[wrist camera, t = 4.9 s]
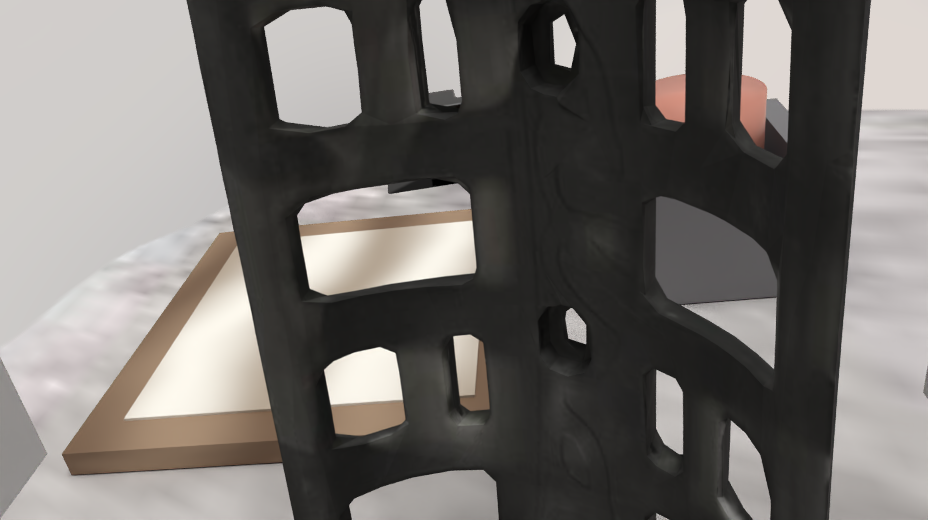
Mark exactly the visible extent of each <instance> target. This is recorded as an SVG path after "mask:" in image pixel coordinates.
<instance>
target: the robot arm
mask: <svg viewBox="0 0 928 520" xmlns="http://www.w3.org/2000/svg"><path fill="white" fill-rule="evenodd" d="M923 393H924V394H925V395H926V397H927V398H928V368H927V374H926V379H925V385H924V391H923ZM46 455H47V452H46V450H45V448H44V446H43V444H42V442H41V440H40V438H39V436H38V434H37V432H36V430H35V428H34V426H33V424H32V421H31V419H30V417H29V415H28V413H27V411H26V409H25V407H24V405H23V403H22V401H21V399H20V397H19V395H18V393H17V391H16V389H15V387H14V385H13V383H12V381H11V379H10V377H9V374H8V372H7V370H6V368H5V366H4V364H3V362H2V360H1V358H0V518H1V517H2V516H3V514H4V513H5V511H6V510H7V509H8V507H9V506H10V505H11V503H12V502H13V500H14V499H15V498H16V496H17V495H18V494H19V492H20V491H21V489H22V488H23V487H24V485H25V484H26V483H27V481H28V480H29V478H30V477H31V476H32V474H33V473H34V472H35V470H36V469H37V467H38V466H39V465H40V463H41V462H42V461H43V459H44V458H45V456H46Z"/></svg>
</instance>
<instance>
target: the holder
mask: <svg viewBox="0 0 928 520" xmlns="http://www.w3.org/2000/svg"><path fill="white" fill-rule="evenodd" d="M421 1H422V0H187V4H188V9H189V14H190V19H191V24H192V28H193V33H194V39H195V44H196V49H197V54H198V60H199V65H200V70H201V74H202V79H203V84H204V89H205V93H206V98H207V103H208V108H209V112H210V117H211V122H212V126H213V131H214V136H215V141H216V145H217V150H218V156H219V162H220V166H221V171H222V176H223V181H224V185H225V190H226V194H227V199H228V204H229V208H230V214H231V219H232V224H233V229H234V234H235V239H236V243H237V248H238V252H239V257H240V262H241V266H242V271H243V276H244V281H245V286H246V290H247V295H248V299H249V304H250V309H251V313H252V319H253V324H254V329H255V334H256V339H257V344H258V348H259V353H260V358H261V363H262V368H263V373H264V377H265V382H266V387H267V392H268V397H269V402H270V407H271V411H272V416H273V421H274V425H275V430H276V435H277V439H278V444H279V448H280V453H281V458H282V463H283V467H284V472H285V477H286V482H287V487H288V492H289V496H290V501H291V506H292V511H293V516H294V520H352V518H351V513H350V508H349V505H350V503H351V502H352V501H353V500H354V498H357V497H359V496H361V495H364V494H366V493H368V492H371V491H373V490H375V489H378V488H380V487H383V486H386V485H389V484H393V483H396V482H399V481H403V480H406V479H409V478H413V477H418V476H424V475H429V474H435V473H441V472H446V471H454V470H484V471H485V472H486V473H487V474H488V475H489V476H490V477H491V478H492V479H494V480H495V481H496V486H497V499H498V512H499V520H656V513H657V514H659V515H661V516H663V517H665V518H667V519H669V520H753V519H752V518H751V517H750V515H749V514H748V513H747V512H746V510H745V509H744V508H743V506H742V504H741V502H740V501H739V499H738V497H737V495H736V493H735V491H734V490H733V488H732V486H731V484H730V482H729V480H728V476H729V451H730V426H731V421H732V422H734V423H735V424H736V425H737V426H738V427H739V428H741V429H742V430H743V431H744V432H745V433H746V434H747V436H748V437H749V439H750V440H751V442H752V443H753V445H754V446H755V448H756V449H757V450H758V452H759V453H760V455H761V459H762V463H763V468H764V472H765V477H766V481H767V486H768V490H769V495H770V499H771V517H770V520H829V508H830V492H831V477H832V461H833V447H834V434H835V420H836V406H837V392H838V379H839V367H840V354H841V342H842V329H843V317H844V306H845V294H846V283H847V271H848V260H849V248H850V237H851V225H852V213H853V202H854V190H855V178H856V167H857V155H858V143H859V132H860V120H861V108H862V96H863V85H864V74H865V62H866V51H867V39H868V28H869V15H870V5H871V0H779V3H780V5H781V7H782V9H783V12H784V14H785V16H786V19H787V21H788V23H789V25H790V28H791V30H792V36H791V64H790V91H789V92H790V93H789V114H788V139H787V155H786V156H785V157H784V158H781V157H779V156H777V155H775V154H773V153H771V152H769V151H767V150H764V149H762V148H760V147H758V146H756V144H755V143H754V141H753V139H752V138H751V136H750V135H749V133H748V132H747V130H746V129H745V127H744V126H743V124H742V122H741V121H740V109H741V82H742V54H743V27H744V3H745V2H746V1H747V0H683V2H684V8H685V14H686V76H685V122H679V121H674V120H669V119H666V118H665V117H664V115H663V114H662V113H661V111H660V110H659V109H658V107H657V106H656V74H655V73H656V70H655V68H656V67H655V65H656V63H655V62H656V60H655V54H656V53H655V52H656V46H655V45H656V0H446V3H447V7H448V11H449V14H450V18H451V22H452V26H453V29H454V33H455V37H456V41H457V52H458V62H459V74H460V84H461V96H462V102H461V105H460V108H453V107H448V106H443V105H437V104H432V103H430V101H429V93H428V85H427V76H426V68H425V59H424V51H423V43H422V32H421V20H420V9H419V5H420V3H421ZM325 6H326V7H332V8H335V9H339V10H342V11H345V13H346V15H347V17H348V18H349V20H350V22H351V24H352V30H353V38H354V47H355V54H356V60H357V67H358V76H359V87H360V99H361V109H362V113H361V114H359V115H358V116H357V117H356V118H355V119H354V120H352V121H351V122H350V123H348V124H342V125H337V126H332V127H320V126H312V125H304V124H295V123H288V122H284V121H282V120H280V119H279V114H278V108H277V102H276V96H275V90H274V84H273V78H272V72H271V66H270V60H269V54H268V48H267V42H266V37H265V30H264V26H266V25H267V24H269V23H271V22H272V21H274V20H275V19H277V18H279V17H280V16H282V15H284V14H285V13H286V12H288V11H290V10H296V9H306V8H316V7H325ZM564 14H565V16H566V19H567V22H568V24H569V27H570V29H571V32H572V34H573V37H574V39H575V42H576V47H575V52H574V57H573V62H572V67H571V68H568V67H564V66H560V65H556V64H555V59H554V39H553V21H555V20H556V19H558V18H559V17H561V16H562V15H564ZM430 178H434V179H439V180H445V181H450V182H455V183H458V184H460V185H461V186H462V187H463V188H464V189H465V190H466V191H467V192H468V193H469V194H470V199H471V211H472V223H473V234H474V245H475V256H476V271H475V273H470V274H461V275H452V276H443V277H436V278H428V279H421V280H414V281H407V282H400V283H393V284H387V285H382V286H377V287H372V288H367V289H362V290H356V291H350V292H345V293H339V294H333V295H325V294H322V293H320V292H317V291H315V290H312V289H310V287H309V281H308V276H307V270H306V265H305V259H304V254H303V248H302V242H301V236H300V230H299V224H298V218H297V215H298V213H299V212H300V210H301V209H302V207H303V206H304V204H305V203H308V202H311V201H313V200H316V199H319V198H322V197H325V196H328V195H331V194H334V193H339V192H344V191H349V190H354V189H360V188H367V187H374V186H381V185H388V184H395V183H402V182H409V181H416V180H423V179H430ZM660 196H662V197H667V198H671V199H676V200H678V201H680V202H683V203H685V204H688V205H690V206H693V207H695V208H698V209H700V210H702V211H705V212H707V213H710V214H712V215H714V216H716V217H718V218H720V219H722V220H724V221H726V222H728V223H729V224H731V225H732V226H734V227H735V228H737V229H739V230H740V231H742V232H743V233H745V234H747V235H748V236H750V237H751V238H753V239H754V240H755V241H756V242H757V243H758V244H759V245H760V246H761V247H762V248H763V249H764V250H765V251H766V252H767V255H768V257H769V260H770V263H771V265H772V268H773V271H774V273H775V276H776V279H777V307H776V341H775V363H774V369H773V368H772V367H771V366H770V365H769V364H768V363H767V362H765V361H764V360H763V359H762V358H761V357H760V356H759V355H758V354H757V353H755V352H754V351H753V350H751V349H750V348H749V347H748V346H746V345H745V344H744V343H743V342H741V341H740V340H739V339H737V338H736V337H735V336H733V335H732V334H730V333H728V332H727V331H725V330H723V329H722V328H720V327H719V326H717V325H715V324H714V323H712V322H710V321H709V320H707V319H705V318H703V317H701V316H699V315H698V314H696V313H694V312H692V311H690V310H688V309H686V308H685V307H683V306H681V305H679V304H677V303H675V302H674V301H672V300H670V299H668V298H667V296H666V295H665V293H664V291H663V289H662V288H661V286H660V284H659V282H658V281H657V279H656V277H655V269H656V197H660ZM570 308H573V309H574V310H575V311H576V313H577V314H578V315H579V316H580V318H581V319H582V320H583V321H584V322H585V324H586V344H583V343H580V342H577V341H574V340H571V339H568V334H567V327H566V321H565V317H566V311H567V310H569V309H570ZM461 335H472V336H473V337H475V338H476V339H478V340H480V341H481V342H483V347H484V355H485V363H486V372H487V383H488V394H489V405H490V409H487V410H476V411H470V410H468V409H467V408H465V407H464V406H463V405H461V404H460V395H459V386H458V377H457V368H456V358H455V348H454V338H453V336H461ZM378 347H381V348H383V349H386V350H389V351H391V352H394V353H395V354H396V359H397V364H398V369H399V376H400V383H401V389H402V397H403V404H404V412H405V421H404V422H403V423H402V424H399V425H396V426H393V427H390V428H387V429H383V430H380V431H377V432H374V433H371V434H367V435H364V436H356V435H346V434H337V433H335V428H334V422H333V416H332V409H331V403H330V398H329V393H328V388H327V383H326V377H325V372H324V369H326V368H327V367H328V366H329V365H330V364H331V363H332V362H333V361H336V360H338V359H340V358H343V357H345V356H347V355H350V354H352V353H355V352H359V351H364V350H369V349H373V348H378ZM656 370H658V371H661V372H663V373H665V374H667V375H669V376H671V377H673V378H676V380H677V382H678V384H679V386H680V387H681V389H682V391H683V454H678V453H676V452H675V451H673V450H672V449H670V448H669V447H668V446H666V445H665V444H664V443H663V441H662V439H661V437H660V436H659V434H658V432H657V430H656Z"/></svg>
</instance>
